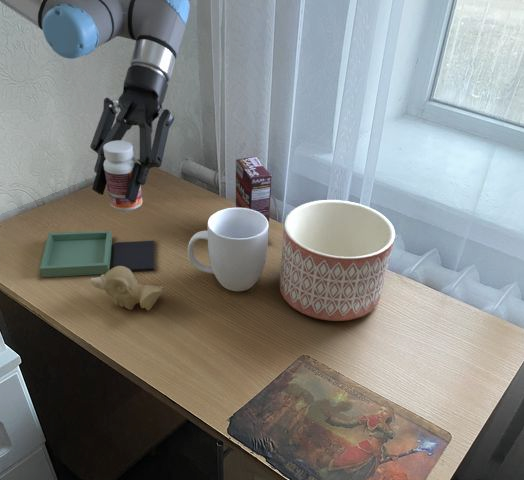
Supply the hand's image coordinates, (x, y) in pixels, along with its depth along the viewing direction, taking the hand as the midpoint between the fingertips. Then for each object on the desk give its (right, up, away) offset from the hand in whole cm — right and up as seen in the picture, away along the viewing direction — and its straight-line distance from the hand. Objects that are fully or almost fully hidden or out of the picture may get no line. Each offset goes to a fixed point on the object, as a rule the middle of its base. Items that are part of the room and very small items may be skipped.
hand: (113, 195), depth 98 cm
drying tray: (-10, -10, +10) cm, 17 cm away
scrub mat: (+1, -9, +11) cm, 14 cm away
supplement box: (+25, -4, +19) cm, 31 cm away
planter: (+40, -18, +5) cm, 44 cm away
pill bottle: (+1, 0, +5) cm, 5 cm away
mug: (+21, -15, +7) cm, 27 cm away
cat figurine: (+3, -20, 0) cm, 20 cm away
